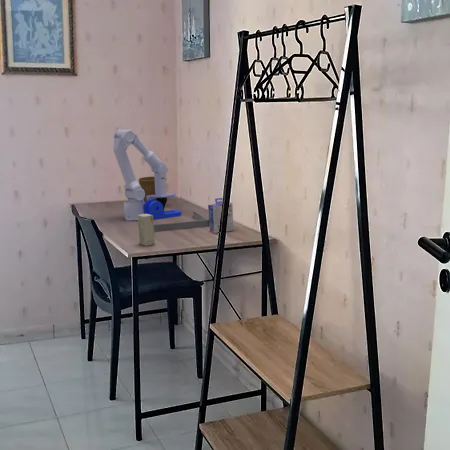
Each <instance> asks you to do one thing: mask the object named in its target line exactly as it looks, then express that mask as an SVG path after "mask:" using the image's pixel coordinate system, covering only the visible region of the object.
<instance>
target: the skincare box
mask: <svg viewBox="0 0 450 450" xmlns="http://www.w3.org/2000/svg"><path fill="white" fill-rule="evenodd" d="M137 216H138V220H137V226H138V227H137V228H138V237H139V238H138V239H139V244H140V245H142V246H145V247H147V246H152V245H156V240H155V232H154V225H155V223H154V220H153V215H150V214H140V215H137Z"/></svg>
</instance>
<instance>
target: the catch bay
mask: <svg viewBox="0 0 450 450" xmlns="http://www.w3.org/2000/svg"><path fill="white" fill-rule="evenodd" d="M192 213H193V216H192V217H193V218H194V219H196V220H188V221H187V220H186V221H178V222H167V223H157V224H155V223H154V233H157V232H163V231H164V232H165V231H176V230H186V229H194V228H205V227H206V228H208V227H209V217H207V216H205V215H203V214H202V213H200V212H198V211H197V210H195V209H194V210H193V212H192Z"/></svg>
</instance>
